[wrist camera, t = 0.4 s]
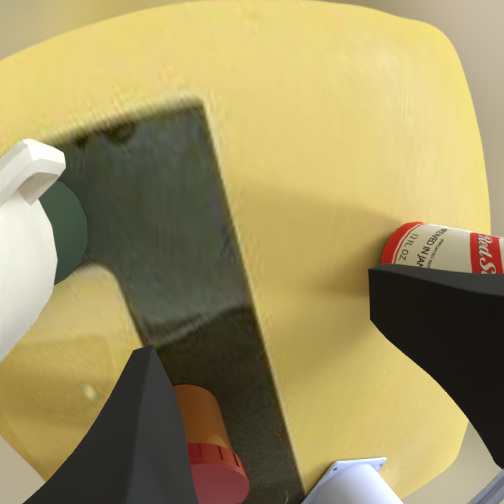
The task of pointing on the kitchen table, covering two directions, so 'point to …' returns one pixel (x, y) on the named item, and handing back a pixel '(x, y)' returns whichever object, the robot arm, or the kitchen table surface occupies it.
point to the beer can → (444, 249)
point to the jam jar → (201, 416)
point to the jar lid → (217, 474)
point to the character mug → (34, 235)
